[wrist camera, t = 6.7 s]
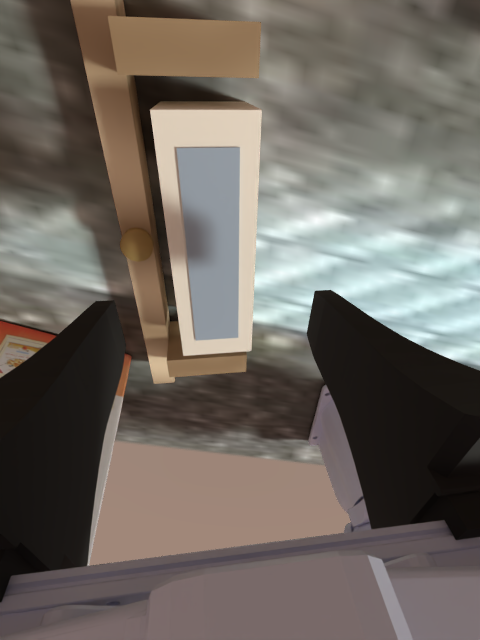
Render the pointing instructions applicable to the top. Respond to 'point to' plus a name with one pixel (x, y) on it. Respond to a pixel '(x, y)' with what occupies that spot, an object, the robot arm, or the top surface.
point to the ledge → (129, 151)
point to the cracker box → (21, 343)
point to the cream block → (210, 217)
